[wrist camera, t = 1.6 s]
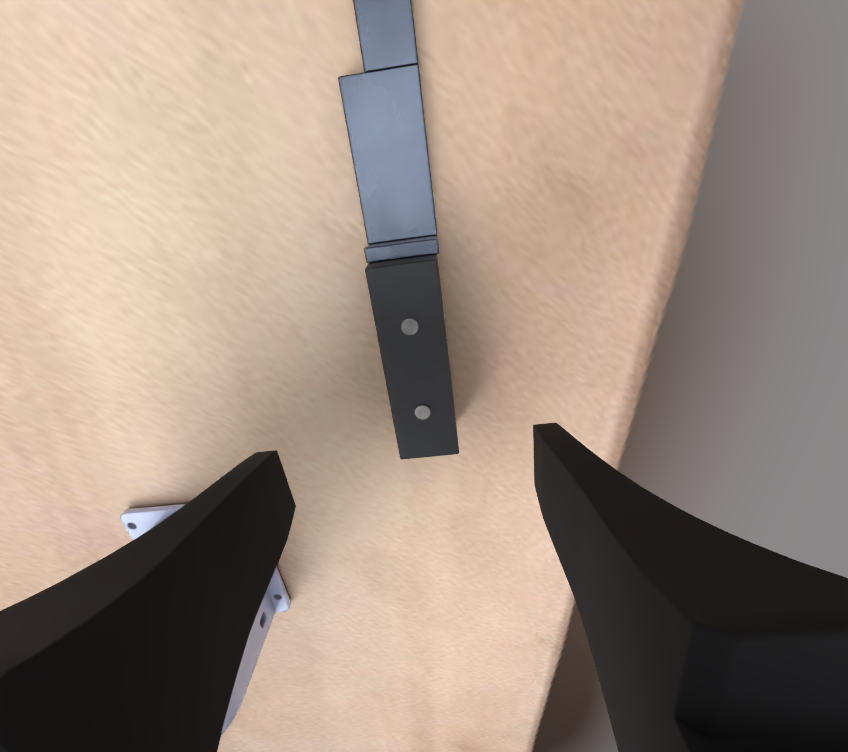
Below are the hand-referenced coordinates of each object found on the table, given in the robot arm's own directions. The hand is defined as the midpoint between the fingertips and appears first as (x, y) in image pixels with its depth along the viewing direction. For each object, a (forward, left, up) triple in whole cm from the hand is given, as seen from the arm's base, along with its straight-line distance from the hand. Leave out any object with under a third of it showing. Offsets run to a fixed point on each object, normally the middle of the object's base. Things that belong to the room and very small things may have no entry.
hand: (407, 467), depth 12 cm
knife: (+5, 0, -9) cm, 11 cm away
